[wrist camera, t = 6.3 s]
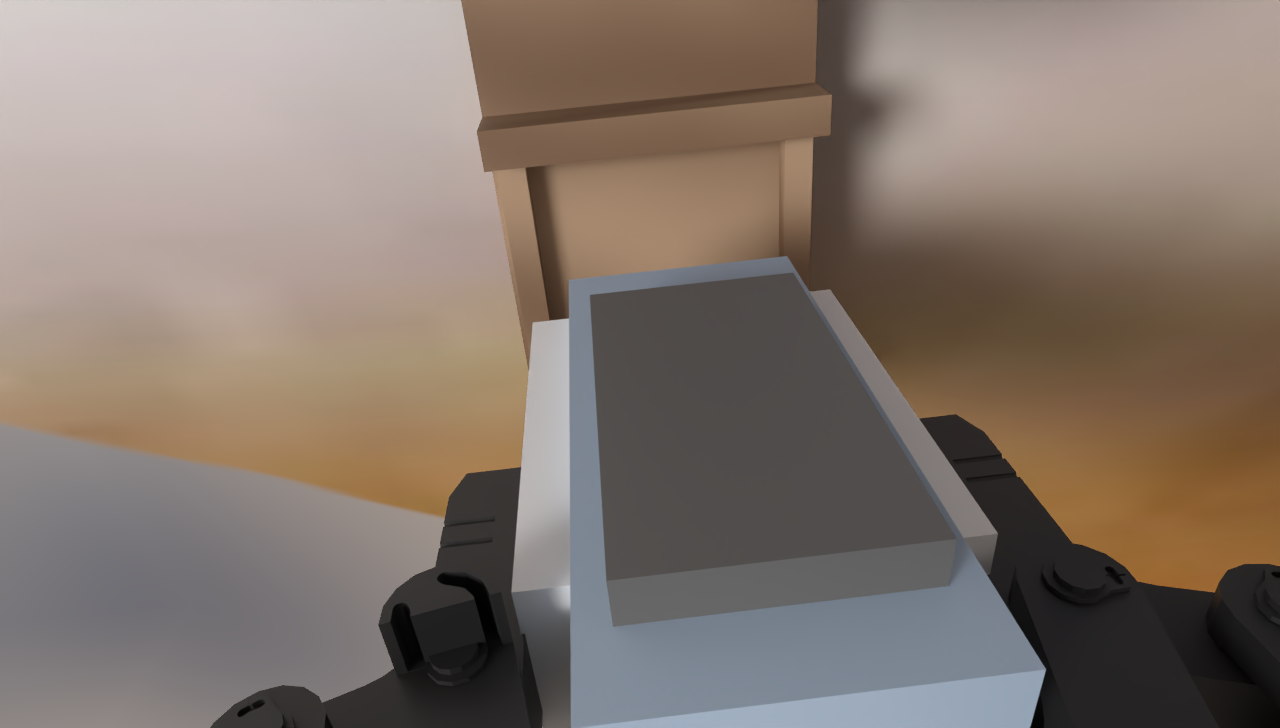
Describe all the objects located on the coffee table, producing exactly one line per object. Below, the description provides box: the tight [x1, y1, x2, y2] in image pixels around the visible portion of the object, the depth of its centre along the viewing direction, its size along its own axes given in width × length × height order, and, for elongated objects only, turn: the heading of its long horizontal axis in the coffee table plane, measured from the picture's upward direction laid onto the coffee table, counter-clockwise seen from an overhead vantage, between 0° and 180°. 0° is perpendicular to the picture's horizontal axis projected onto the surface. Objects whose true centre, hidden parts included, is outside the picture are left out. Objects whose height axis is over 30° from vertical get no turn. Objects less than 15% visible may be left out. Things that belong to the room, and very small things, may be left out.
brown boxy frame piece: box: [461, 0, 832, 370], centre depth 13 cm, size 18×7×10 cm, turn 5°
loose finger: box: [569, 256, 1046, 728], centre depth 11 cm, size 5×4×9 cm
